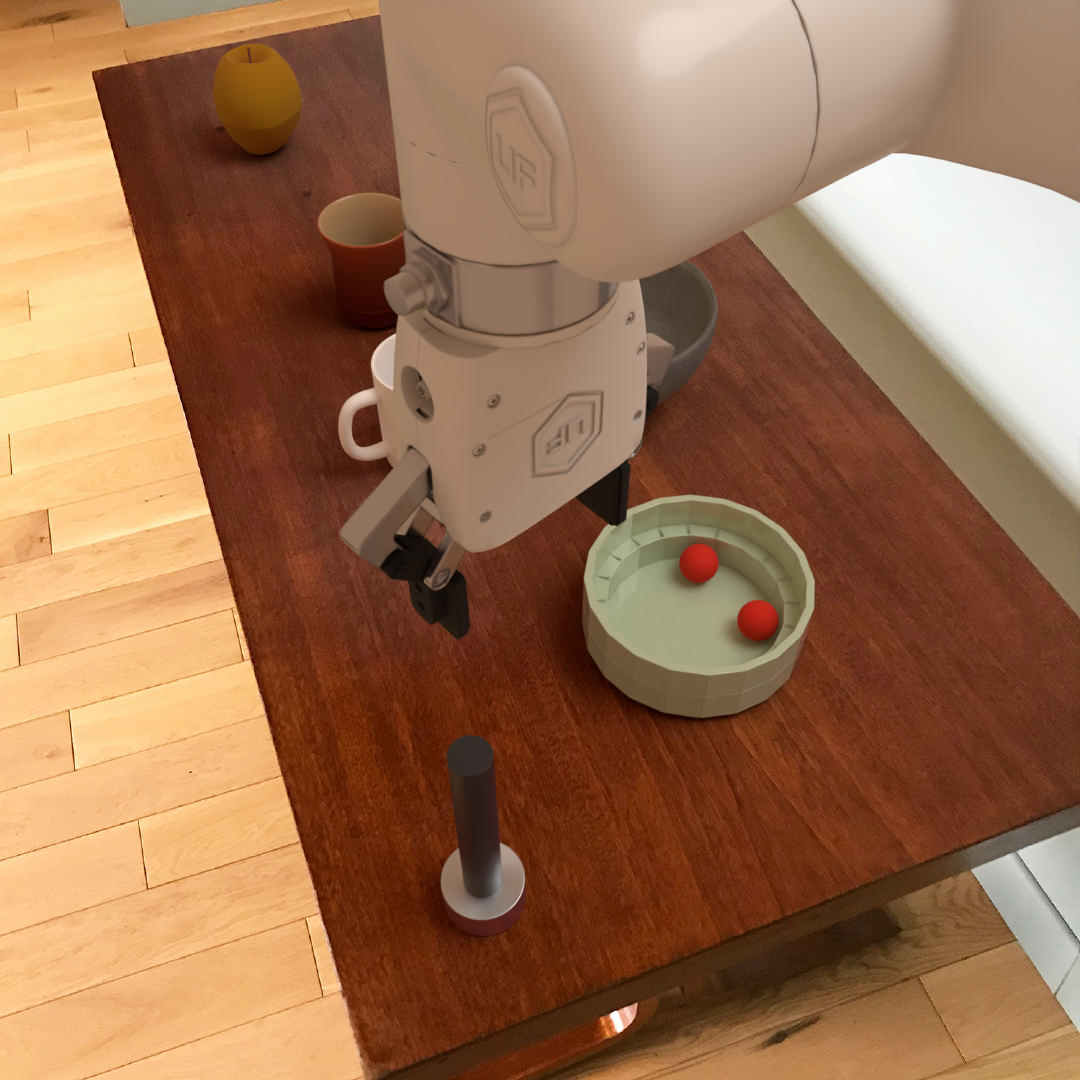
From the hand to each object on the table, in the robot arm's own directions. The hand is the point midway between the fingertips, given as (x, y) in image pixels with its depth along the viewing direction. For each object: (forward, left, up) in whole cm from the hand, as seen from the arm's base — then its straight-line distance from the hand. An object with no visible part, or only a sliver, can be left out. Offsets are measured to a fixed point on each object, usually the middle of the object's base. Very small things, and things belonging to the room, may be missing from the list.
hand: (523, 560), depth 52 cm
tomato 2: (+18, -14, -26) cm, 34 cm away
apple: (+78, +45, -28) cm, 95 cm away
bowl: (+44, +2, -28) cm, 52 cm away
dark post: (-5, +2, -28) cm, 28 cm away
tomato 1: (+23, -9, -26) cm, 36 cm away
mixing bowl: (+18, -9, -28) cm, 35 cm away
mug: (+52, +23, -28) cm, 64 cm away
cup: (+32, +16, -28) cm, 46 cm away
